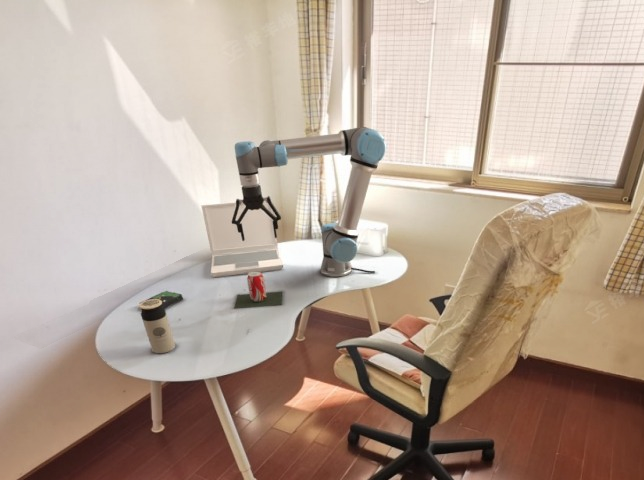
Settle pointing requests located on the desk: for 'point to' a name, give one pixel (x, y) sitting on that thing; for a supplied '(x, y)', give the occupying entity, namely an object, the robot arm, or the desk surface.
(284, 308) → the desk surface
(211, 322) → the desk surface
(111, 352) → the desk surface
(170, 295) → the disk drive
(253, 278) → the soda can
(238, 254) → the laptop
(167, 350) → the travel mug
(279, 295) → the mat
